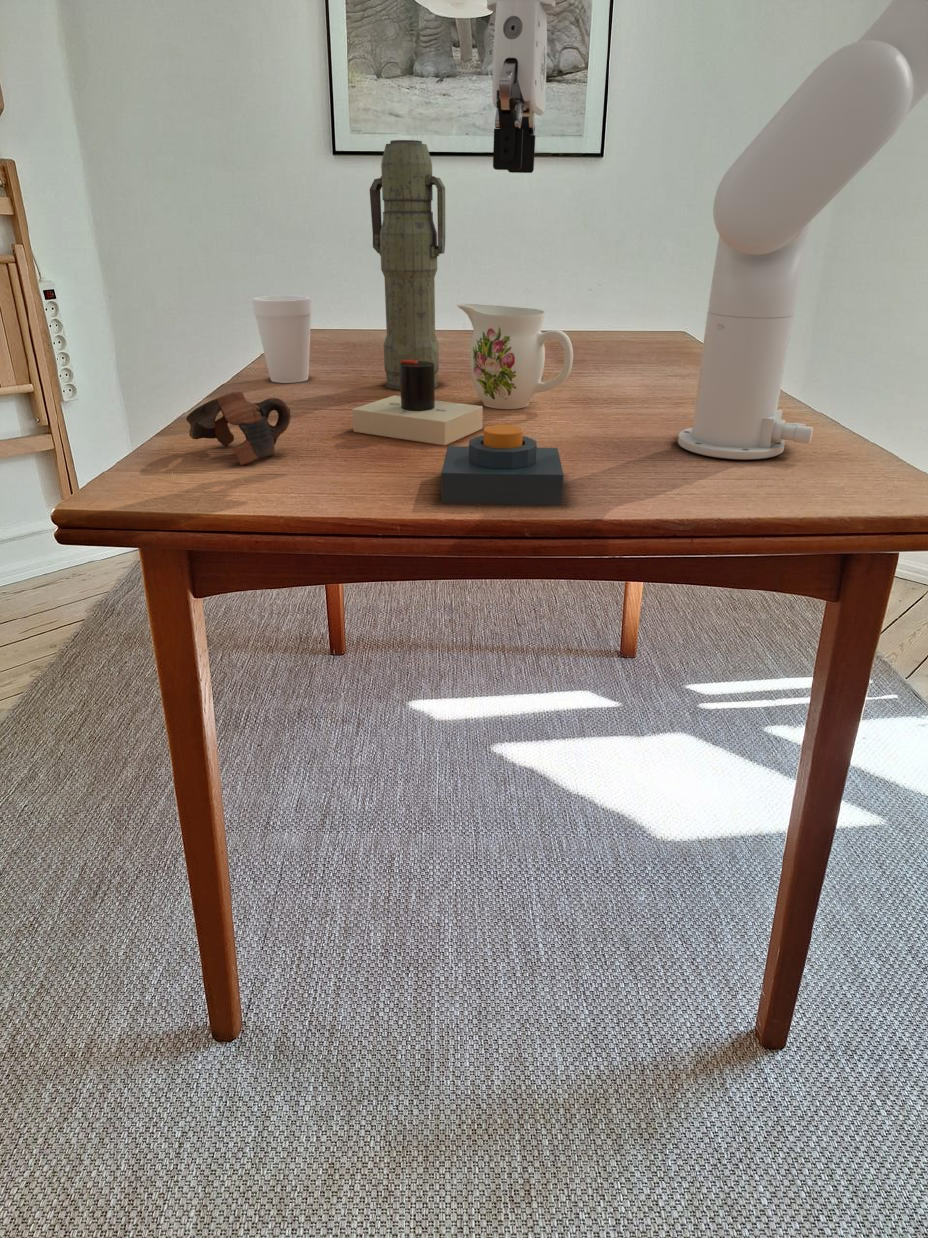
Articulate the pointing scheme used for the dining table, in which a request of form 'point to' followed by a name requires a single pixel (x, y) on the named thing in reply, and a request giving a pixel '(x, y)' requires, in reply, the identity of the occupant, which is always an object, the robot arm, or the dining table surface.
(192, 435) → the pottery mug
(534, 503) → the button base
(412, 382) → the dial
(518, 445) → the release button
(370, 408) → the dial panel
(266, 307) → the foam cup
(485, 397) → the pitcher
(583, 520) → the dining table surface
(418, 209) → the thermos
